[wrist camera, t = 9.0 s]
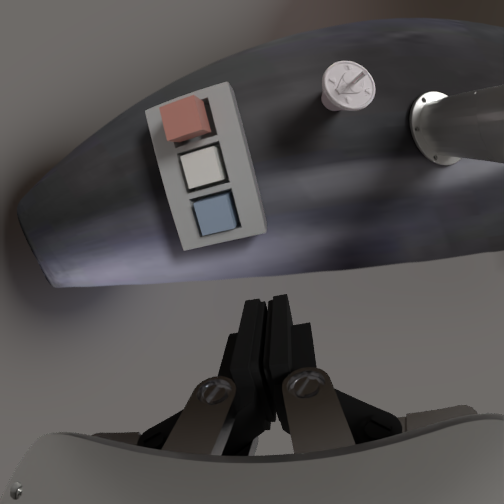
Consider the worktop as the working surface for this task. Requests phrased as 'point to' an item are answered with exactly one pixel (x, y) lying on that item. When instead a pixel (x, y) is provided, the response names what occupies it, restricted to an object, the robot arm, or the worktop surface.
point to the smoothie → (347, 87)
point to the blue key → (216, 213)
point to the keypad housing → (238, 182)
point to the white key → (204, 166)
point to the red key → (184, 119)
